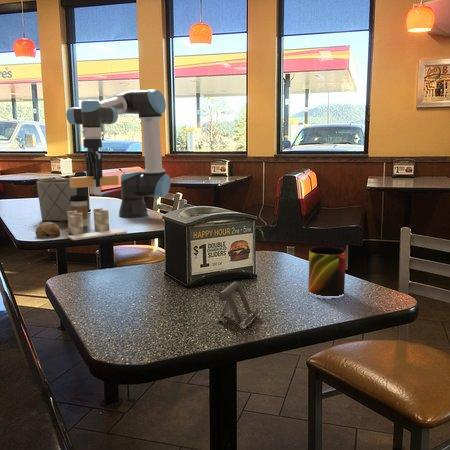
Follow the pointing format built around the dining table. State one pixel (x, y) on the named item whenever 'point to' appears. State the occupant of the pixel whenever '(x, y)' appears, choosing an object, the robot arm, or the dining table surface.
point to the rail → (88, 181)
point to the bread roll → (47, 230)
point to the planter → (55, 198)
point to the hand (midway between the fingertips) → (95, 193)
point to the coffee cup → (80, 206)
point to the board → (96, 234)
